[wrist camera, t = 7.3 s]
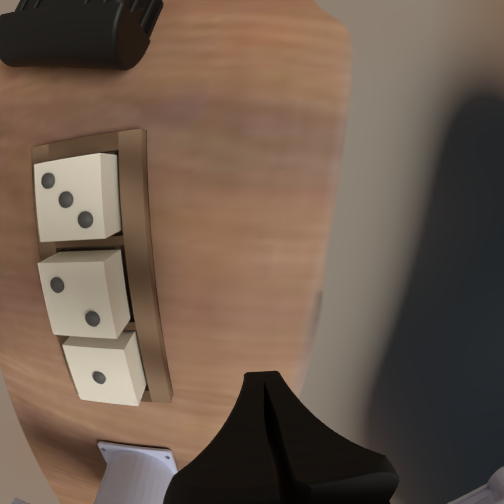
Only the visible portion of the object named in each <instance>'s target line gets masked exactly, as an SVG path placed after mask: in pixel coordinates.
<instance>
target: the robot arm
mask: <svg viewBox="0 0 504 504" xmlns="http://www.w3.org/2000/svg"><path fill="white" fill-rule="evenodd" d="M98 447H99V449H100V451H101V453H102V455H103V457H104V459H105V461H106V463H107V467H106V470H105V473H104V476H103V478H102V481H101V484H100V487H99V490H98V493H97V496H96V499H95V502H94V504H390V502H389V500H390V499H391V497H392V495H393V494H394V492H395V490H396V488H397V487H398V483H399V477H398V475H397V473H396V471H395V469H394V467H393V466H392V464H391V463H390V461H389V460H388V459H387V457H386V456H385V455H382V454H379V453H377V452H374V451H371V450H369V449H366V448H364V447H361V446H359V445H357V444H355V443H353V442H350V441H349V440H347V439H346V438H344V437H342V436H341V435H339V434H338V433H336V432H334V431H333V430H332V429H330V428H329V427H327V426H326V425H325V424H324V423H322V422H321V421H320V420H319V419H317V418H316V417H315V416H314V415H313V414H312V413H311V412H310V411H309V410H308V409H307V408H306V407H305V406H304V405H303V404H302V403H301V402H300V400H299V399H298V398H297V397H296V396H295V394H294V393H293V392H292V391H291V389H290V388H289V387H288V385H287V384H286V382H285V381H284V379H283V378H282V376H281V375H280V373H279V372H278V371H264V372H247V373H245V374H244V381H243V385H242V388H241V391H240V394H239V396H238V399H237V401H236V404H235V406H234V408H233V410H232V411H231V413H230V415H229V417H228V419H227V420H226V422H225V424H224V425H223V427H222V428H221V430H220V431H219V432H218V434H217V435H216V436H215V438H214V439H213V440H212V441H211V443H210V444H209V445H208V446H207V447H206V448H205V449H204V450H203V451H202V452H201V453H200V454H199V455H198V456H197V457H196V458H195V459H194V460H193V461H192V462H190V463H189V464H188V465H187V466H185V467H184V468H183V469H181V470H180V471H179V472H178V470H177V467H176V464H175V461H174V458H173V454H172V452H171V451H170V450H168V449H159V448H148V447H138V446H130V445H122V444H115V443H108V442H102V441H100V442H99V443H98ZM12 504H29V503H27V502H25V501H22V500H20V499H18V498H14V500H13V502H12ZM447 504H504V467H502V468H500V469H499V470H497V471H496V472H495V473H494V474H493V476H492V477H491V478H490V480H489V481H488V483H487V484H485V485H483V486H481V487H480V488H478V489H476V490H474V491H472V492H470V493H468V494H466V495H464V496H462V497H460V498H458V499H456V500H454V501H452V502H450V503H447Z"/></svg>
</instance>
